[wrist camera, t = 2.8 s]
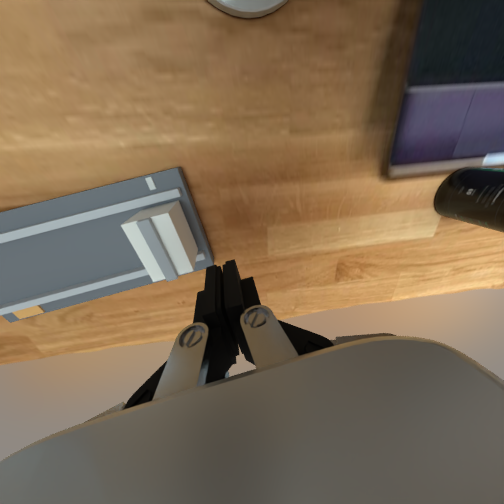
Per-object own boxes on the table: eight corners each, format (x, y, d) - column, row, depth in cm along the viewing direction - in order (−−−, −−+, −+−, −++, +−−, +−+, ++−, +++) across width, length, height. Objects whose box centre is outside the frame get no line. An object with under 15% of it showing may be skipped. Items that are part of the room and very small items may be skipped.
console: (180, 166, 21) (175, 168, 19) (214, 258, 27) (213, 270, 24) (-64, 228, 20) (-106, 239, 18) (24, 311, 26) (2, 328, 23)
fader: (178, 200, 21) (166, 214, 16) (198, 249, 24) (192, 274, 19) (141, 209, 21) (117, 227, 16) (165, 258, 23) (151, 285, 18)
